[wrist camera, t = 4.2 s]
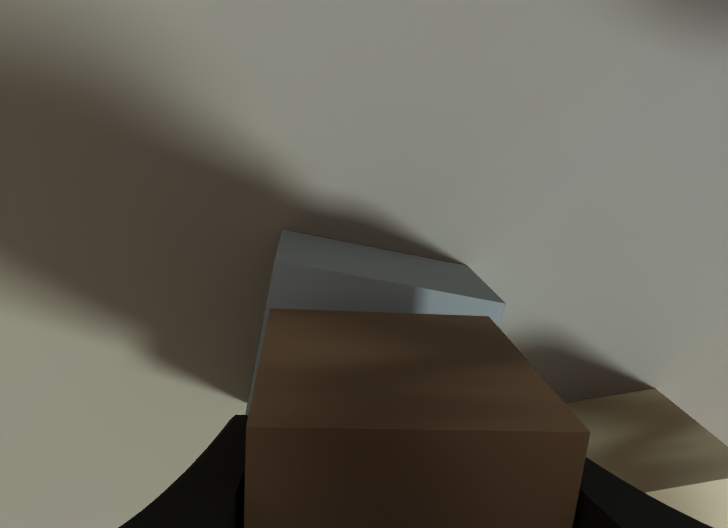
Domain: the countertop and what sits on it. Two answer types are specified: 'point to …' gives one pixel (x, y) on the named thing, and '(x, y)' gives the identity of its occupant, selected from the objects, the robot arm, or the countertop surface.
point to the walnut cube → (405, 427)
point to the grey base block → (370, 283)
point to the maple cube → (659, 452)
